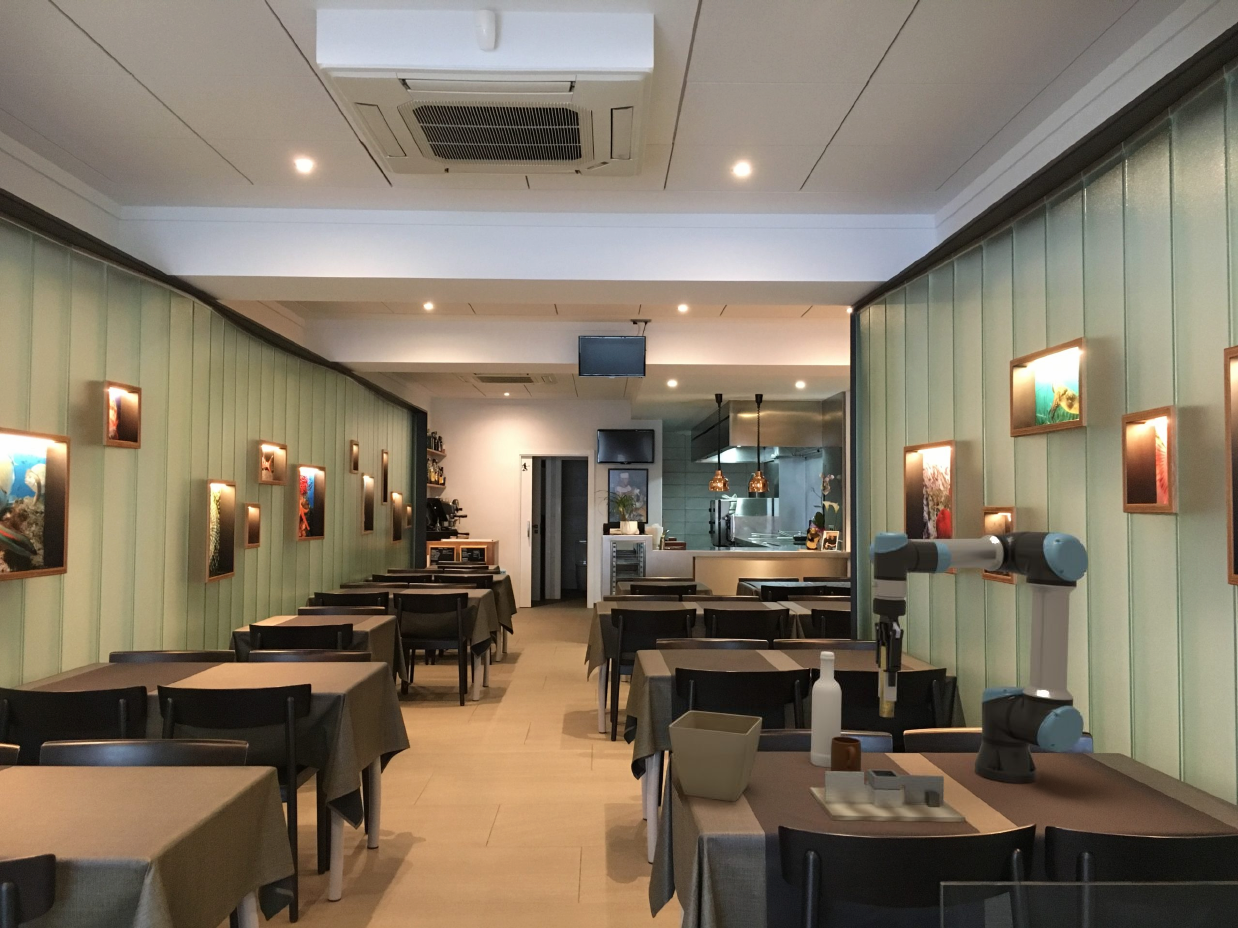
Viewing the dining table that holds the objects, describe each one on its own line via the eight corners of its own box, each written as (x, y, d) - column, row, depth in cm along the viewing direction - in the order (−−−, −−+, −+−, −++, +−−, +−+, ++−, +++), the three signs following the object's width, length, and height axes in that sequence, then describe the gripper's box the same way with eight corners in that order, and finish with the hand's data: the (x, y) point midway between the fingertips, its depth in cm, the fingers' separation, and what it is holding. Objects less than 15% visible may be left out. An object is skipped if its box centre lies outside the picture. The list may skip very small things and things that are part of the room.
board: (931, 793, 222) (931, 789, 222) (965, 821, 202) (965, 817, 202) (810, 791, 221) (810, 787, 221) (832, 819, 201) (832, 815, 201)
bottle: (844, 762, 248) (846, 652, 249) (834, 769, 241) (836, 655, 242) (816, 757, 252) (818, 649, 253) (806, 763, 245) (808, 652, 247)
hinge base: (930, 799, 214) (930, 769, 215) (940, 808, 208) (940, 777, 208) (821, 797, 213) (822, 767, 214) (828, 806, 207) (829, 775, 208)
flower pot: (665, 797, 214) (667, 725, 214) (687, 775, 232) (689, 709, 232) (745, 808, 207) (747, 734, 208) (761, 785, 225) (763, 717, 226)
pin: (891, 714, 214) (892, 645, 214) (895, 717, 210) (897, 647, 211) (877, 713, 213) (879, 645, 214) (882, 716, 210) (883, 647, 211)
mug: (868, 786, 227) (869, 748, 227) (838, 785, 227) (838, 747, 227) (856, 772, 239) (857, 736, 239) (827, 771, 239) (828, 735, 239)
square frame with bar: (938, 798, 214) (938, 771, 214) (947, 807, 208) (948, 778, 208) (866, 797, 214) (867, 769, 214) (874, 805, 208) (874, 776, 208)
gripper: (863, 594, 221) (860, 691, 220) (885, 600, 205) (882, 705, 204) (893, 595, 222) (891, 692, 220) (917, 601, 205) (915, 706, 204)
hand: (887, 698), depth 212 cm, fingers closed on pin, 3 cm apart
